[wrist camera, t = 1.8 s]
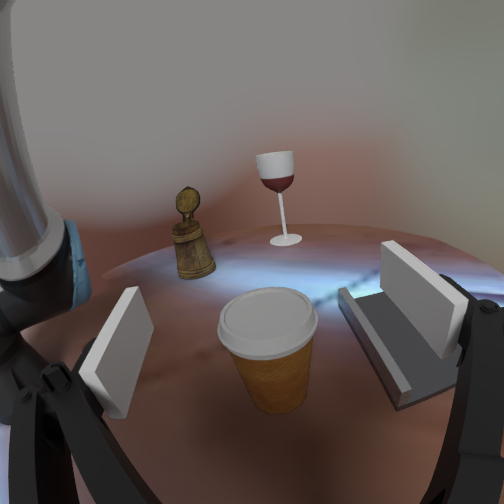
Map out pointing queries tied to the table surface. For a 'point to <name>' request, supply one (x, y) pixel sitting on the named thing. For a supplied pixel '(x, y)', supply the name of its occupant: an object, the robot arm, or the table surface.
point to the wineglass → (278, 185)
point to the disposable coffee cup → (271, 344)
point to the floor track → (398, 350)
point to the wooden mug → (191, 239)
